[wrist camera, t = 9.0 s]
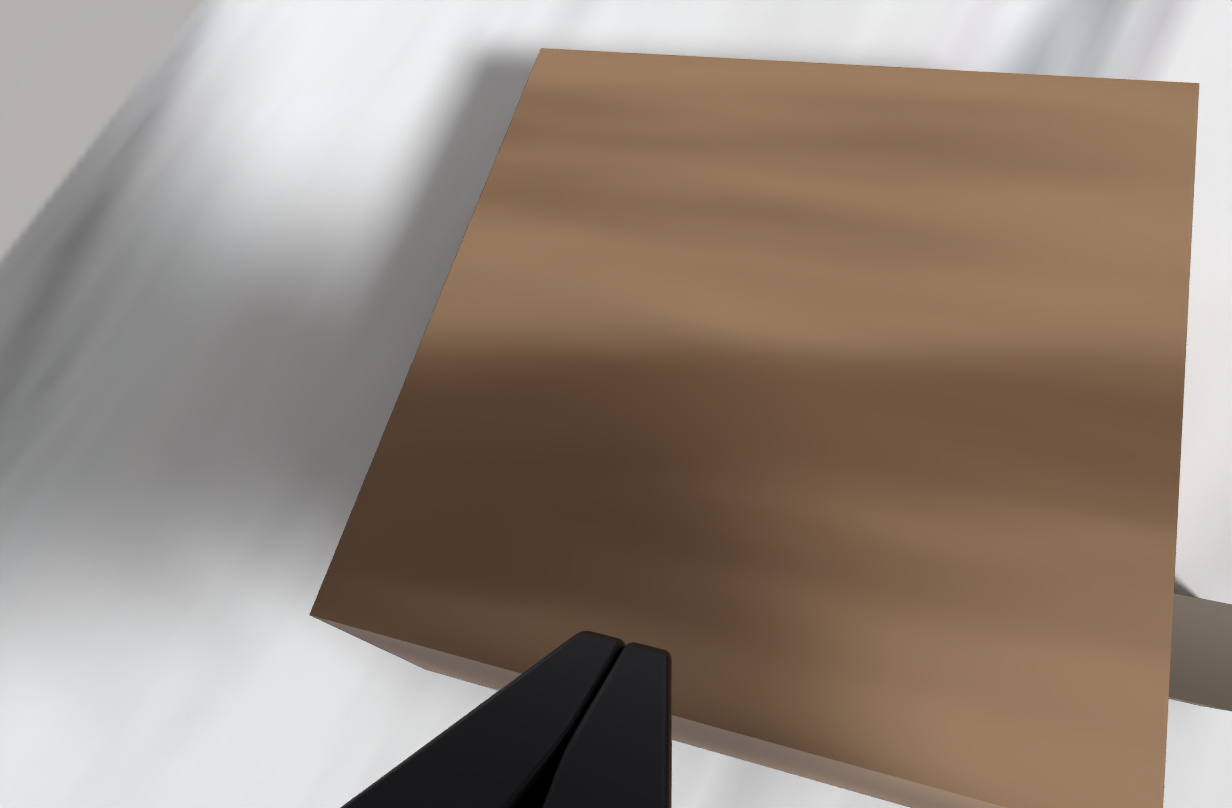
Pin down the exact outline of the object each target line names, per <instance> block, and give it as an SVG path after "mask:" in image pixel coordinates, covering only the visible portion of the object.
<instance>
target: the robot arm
mask: <svg viewBox="0 0 1232 808" xmlns="http://www.w3.org/2000/svg"><path fill="white" fill-rule="evenodd" d="M671 790H672V657H671V654H670V653H669V652H668V651H667V650H664V649H660V648H656V647H652V646H648V645H644V644H640V643H636V642H631V643H628V644H627V645H626V644H625V642H624V641H623V640H621V639H619V638H616V637H612V636H608V635H604V634H600V633H596V632H592V631H582V632H579V633H577V634H575V635H574V636H572V637H571V638H570V639H568V640H567V641H566V642H564V643H563V644H562V645H560V646H559V647H558V648H556V649H555V650H553V651H552V652H551V653H549V654H548V655H547V656H545V657H544V658H543V659H541V660H540V661H539V662H537V663H536V664H534V665H533V666H532V667H530V668H529V669H528V670H526V671H525V672H524V673H522V674H521V675H520V676H518V677H517V678H516V679H514V680H513V681H511V682H510V683H509V684H507V685H506V686H505V687H503V688H502V689H501V690H499V691H498V692H497V693H495V694H494V695H492V696H491V697H490V698H488V699H487V700H486V701H484V702H483V703H482V704H480V705H479V706H478V707H476V708H475V709H473V710H472V711H471V712H469V713H468V714H467V715H465V716H464V717H463V718H461V719H460V720H459V721H457V722H456V723H455V724H453V725H452V726H450V727H449V728H448V729H446V730H445V731H444V732H442V733H441V734H440V735H438V736H437V737H436V738H434V739H433V740H431V741H430V742H429V743H427V744H426V745H425V746H423V747H422V748H421V749H419V750H418V751H417V752H415V753H414V754H412V755H411V756H410V757H408V758H407V759H406V760H404V761H403V762H402V763H400V764H399V765H398V766H396V767H395V768H393V769H392V770H391V771H389V772H388V773H387V774H385V775H384V776H383V777H381V778H380V779H379V780H377V781H376V782H375V783H373V784H372V785H370V786H369V787H368V788H366V789H365V790H364V791H362V792H361V793H360V794H358V795H357V796H356V797H354V798H353V799H351V800H350V801H349V802H347V803H346V804H345V805H343V806H342V807H341V808H671Z"/></svg>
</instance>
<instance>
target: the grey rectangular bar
mask: <svg viewBox="0 0 1232 808" xmlns="http://www.w3.org/2000/svg"><path fill="white" fill-rule="evenodd" d="M1169 699H1173V700H1177V701H1182V702H1186V703H1191V704H1195V705H1199V706H1204V707H1209V708H1215V709H1221V710H1227V711H1232V605H1231V604H1226V603H1221V602H1216V601H1211V600H1206V599H1201V598H1196V597H1190V596H1185V595H1180V594H1175V593H1174V598H1173V618H1172V638H1171V658H1170V678H1169Z"/></svg>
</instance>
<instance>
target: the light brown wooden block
mask: <svg viewBox="0 0 1232 808" xmlns="http://www.w3.org/2000/svg"><path fill="white" fill-rule="evenodd" d="M1198 98H1199V83H1183V82H1164V81H1146V80H1127V79H1108V78H1089V77H1070V76H1052V75H1033V74H1014V73H995V72H977V71H958V70H939V69H920V68H901V67H883V66H864V65H845V64H826V63H807V62H789V61H770V60H751V59H732V58H713V57H695V56H676V55H657V54H638V53H620V52H601V51H582V50H563V49H544V48H541V49H540V52H539V54H538V57H537V59H536V62H535V64H534V67H533V69H532V71H531V74H530V76H529V79H528V81H527V84H526V86H525V89H524V91H523V93H522V96H521V98H520V101H519V103H518V106H517V108H516V111H515V113H514V116H513V118H512V120H511V123H510V125H509V128H508V130H507V133H506V135H505V138H504V140H503V142H502V145H501V147H500V150H499V152H498V155H497V157H496V160H495V162H494V164H493V167H492V169H491V172H490V174H489V177H488V179H487V182H486V184H485V186H484V189H483V191H482V194H481V196H480V199H479V201H478V204H477V206H476V209H475V211H474V213H473V216H472V218H471V221H470V223H469V226H468V228H467V231H466V233H465V235H464V238H463V240H462V243H461V245H460V248H459V250H458V253H457V255H456V257H455V260H454V262H453V265H452V267H451V270H450V272H449V275H448V277H447V280H446V282H445V284H444V287H443V289H442V292H441V294H440V297H439V299H438V302H437V304H436V306H435V309H434V311H433V314H432V316H431V319H430V321H429V324H428V326H427V328H426V331H425V333H424V336H423V338H422V341H421V343H420V346H419V348H418V350H417V353H416V355H415V358H414V360H413V363H412V365H411V368H410V370H409V373H408V375H407V377H406V380H405V382H404V385H403V387H402V390H401V392H400V395H399V397H398V399H397V402H396V404H395V407H394V409H393V412H392V414H391V417H390V419H389V421H388V424H387V426H386V429H385V431H384V434H383V436H382V439H381V441H380V443H379V446H378V448H377V451H376V453H375V456H374V458H373V461H372V463H371V466H370V468H369V470H368V473H367V475H366V478H365V480H364V483H363V485H362V488H361V490H360V492H359V495H358V497H357V500H356V502H355V505H354V507H353V510H352V512H351V514H350V517H349V519H348V522H347V524H346V527H345V529H344V532H343V534H342V536H341V539H340V541H339V544H338V546H337V549H336V551H335V554H334V556H333V559H332V561H331V563H330V566H329V568H328V571H327V573H326V576H325V578H324V581H323V583H322V585H321V588H320V590H319V593H318V595H317V598H316V600H315V603H314V605H313V607H312V610H311V612H310V616H313V617H315V618H317V619H319V620H321V621H323V622H325V623H328V624H330V625H332V626H334V627H336V628H338V629H340V630H342V631H345V632H347V633H349V634H351V635H353V636H355V637H357V638H360V639H362V640H364V641H366V642H368V643H370V644H372V645H375V646H377V647H379V648H381V649H383V650H385V651H387V652H390V653H392V654H394V655H396V656H398V657H400V658H402V659H405V660H407V661H409V662H411V663H413V664H415V665H417V666H419V667H422V668H424V669H426V670H429V671H432V672H436V673H440V674H443V675H447V676H450V677H454V678H457V679H461V680H464V681H468V682H471V683H475V684H478V685H482V686H485V687H489V688H492V689H496V690H501V689H502V688H503V687H505V686H506V685H507V684H509V683H510V682H511V681H513V680H514V679H516V678H517V677H518V676H520V675H521V674H522V673H524V672H525V671H526V670H528V669H529V668H530V667H532V666H533V665H534V664H536V663H537V662H539V661H540V660H541V659H543V658H544V657H545V656H547V655H548V654H549V653H551V652H552V651H553V650H555V649H556V648H558V647H559V646H560V645H562V644H563V643H564V642H566V641H567V640H568V639H570V638H571V637H572V636H574V635H575V634H577V633H579V632H582V631H592V632H596V633H600V634H604V635H608V636H612V637H616V638H619V639H621V640H623V641H624V642H625V644H626V645H627V644H628V643H631V642H636V643H640V644H644V645H648V646H652V647H656V648H660V649H664V650H667V651H668V652H669V653H670V654H671V657H672V740H675V741H678V742H682V743H686V744H689V745H693V746H696V747H700V748H703V749H707V750H710V751H714V752H717V753H721V754H724V755H728V756H731V757H735V758H738V759H742V760H745V761H749V762H752V763H756V764H759V765H763V766H766V767H770V768H773V769H777V770H780V771H784V772H787V773H791V774H794V775H798V776H802V777H805V778H809V779H812V780H816V781H819V782H823V783H826V784H830V785H833V786H837V787H840V788H844V789H847V790H851V791H854V792H858V793H861V794H865V795H868V796H872V797H875V798H879V799H882V800H886V801H889V802H893V803H896V804H900V805H903V806H907V807H910V808H1163V798H1164V778H1165V758H1166V738H1167V718H1168V698H1169V678H1170V658H1171V638H1172V618H1173V598H1174V578H1175V558H1176V538H1177V518H1178V498H1179V478H1180V458H1181V438H1182V418H1183V398H1184V378H1185V358H1186V338H1187V318H1188V298H1189V278H1190V258H1191V238H1192V218H1193V198H1194V178H1195V158H1196V138H1197V118H1198Z"/></svg>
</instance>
